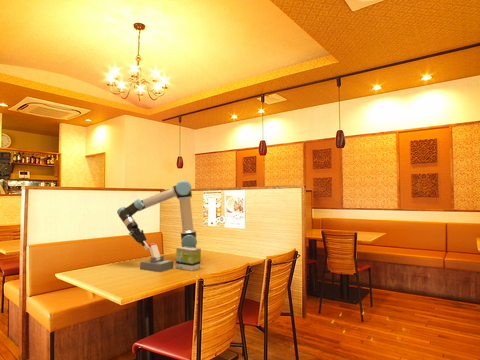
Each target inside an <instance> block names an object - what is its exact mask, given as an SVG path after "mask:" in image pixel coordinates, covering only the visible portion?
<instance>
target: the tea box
mask: <svg viewBox="0 0 480 360" xmlns="http://www.w3.org/2000/svg"><path fill="white" fill-rule="evenodd" d="M201 251H202V248H200V247H196V248H193V247H186V246H184V247H182V246H181V247H176V251H175V253H176V254H175V255H176V256H175V269H179V270H186V271H190V272H193V271H197V270H200V269H201V256H202V255H201Z"/></svg>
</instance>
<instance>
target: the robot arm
mask: <svg viewBox="0 0 480 360" xmlns="http://www.w3.org/2000/svg"><path fill="white" fill-rule="evenodd" d="M192 197H193V194H192V184H191V183H190V182H189V181H187V180H185V179H184V180H183V179H182V180H179V181H178V182H177V183H176V185H174V186H172V187H171V188H169V189H167V190H163V191H162V192H158V193H156V194H154V195H152V196H149V197H146V198H143V199H141V200H140V199H139V198H138V199H136V200H134V201H133V202H132V203H131V204H129V205H128V206H127V207H125V206H121V207H119V208H118V209H117V215H118V218H119V219H120V220H121V221H122V223H123V225H125V227H126V229H127V231H129V233H128V234H129V236H131V237H132V238H133V239H134V241H136V242H137V243H139V245H141V246H142V247H143V248H144V249H145V251H148V250H149V246H148V242H146V241H147V238H146V235H145V232H144V230H143V229H140V228H139V224H138V223H137V222H136V219H134V218H133V216H134V215H135V214H136V213H138V212H141V211H143V210H145V209H148V208H150V207H154V206H156V205H158V204H160V203H163V202H167V201H168V200H170V199H173V198H177V200H178V201H179V210H180V221H181V228H182V230H181V232H180V240H181V242H180V243H181V244H180V245H181V247H184V246H186V247H193V248H197V244H198V240H197V232H196V230H195V229H194V223H193V221H194V220H193V211H192V203H191V199H192Z"/></svg>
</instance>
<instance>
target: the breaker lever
mask: <svg viewBox="0 0 480 360" xmlns="http://www.w3.org/2000/svg"><path fill="white" fill-rule="evenodd" d="M147 245H148V246H149V248H148V250H149V252H150V254H151V256H150V257H154V258H156V261H159V260H161V258H160V257H161V256H162V255H161V253H160V251H159V248H158V245H157V242H150V243H147Z"/></svg>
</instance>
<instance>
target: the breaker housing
mask: <svg viewBox="0 0 480 360" xmlns="http://www.w3.org/2000/svg"><path fill="white" fill-rule="evenodd" d="M160 256H161V257H160V258H161V260H159V261H156V258H154V257H152V256H150V259H147V260H142V261H140V263H139V270H144V271H151V272H156V273H157V272H158V273H162V272H166V271H169V270H172V269H174V260H167V259H164V257H165V256H164V255H160Z"/></svg>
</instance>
